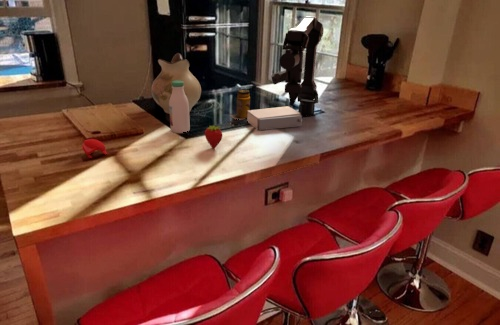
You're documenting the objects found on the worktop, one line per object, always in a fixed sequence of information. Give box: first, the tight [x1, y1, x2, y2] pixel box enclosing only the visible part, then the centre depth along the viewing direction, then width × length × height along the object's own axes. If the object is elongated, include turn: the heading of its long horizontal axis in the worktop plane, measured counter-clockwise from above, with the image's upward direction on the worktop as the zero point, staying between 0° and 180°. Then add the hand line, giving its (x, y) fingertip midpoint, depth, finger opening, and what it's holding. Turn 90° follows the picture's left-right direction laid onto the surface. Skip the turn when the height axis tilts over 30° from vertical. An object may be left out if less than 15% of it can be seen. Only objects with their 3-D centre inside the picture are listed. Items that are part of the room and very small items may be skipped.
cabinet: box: [246, 105, 301, 130], centre depth 163 cm, size 20×11×5 cm, turn 113°
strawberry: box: [204, 122, 223, 149], centre depth 135 cm, size 6×8×10 cm
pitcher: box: [151, 52, 202, 115], centre depth 172 cm, size 22×24×25 cm
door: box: [256, 115, 303, 131], centre depth 156 cm, size 20×2×5 cm, turn 109°
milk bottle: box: [169, 81, 191, 134], centre depth 149 cm, size 8×8×20 cm
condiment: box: [229, 89, 251, 121], centre depth 168 cm, size 7×8×12 cm
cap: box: [81, 138, 108, 159], centre depth 128 cm, size 8×6×6 cm
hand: (291, 105), depth 147 cm, fingers closed
